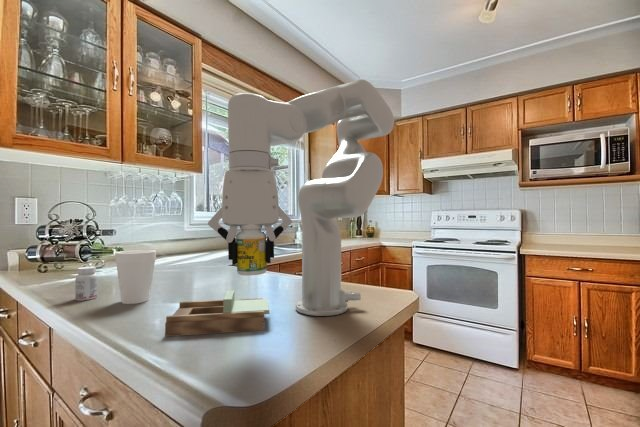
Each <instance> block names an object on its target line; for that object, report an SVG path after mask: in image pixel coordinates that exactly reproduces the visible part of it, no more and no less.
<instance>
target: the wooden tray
mask: <svg viewBox="0 0 640 427" xmlns="http://www.w3.org/2000/svg"><path fill="white" fill-rule="evenodd" d="M256 299H264V298H263V297H260V298H257V297H256V298H254V297H253V298H237V299H236V298H234V300H256ZM164 324H165V325H164V326H165V329H164V332H165V334H164V337H177V335H178V336H191V334H195V335H207V334H221V333H222V334H224V333H237V332H239V333H241V332H250V331H251V332H252V331H264V330H265V314H264V311H249V312H231V313H223V299H213V300H212V299H211V300H194V301H193V300H191V301H180V302H179V307H178V308H177V310H176V311H175V312H174V313H173V314H172V315H166V317H165V323H164Z"/></svg>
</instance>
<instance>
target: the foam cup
mask: <svg viewBox="0 0 640 427" xmlns="http://www.w3.org/2000/svg"><path fill="white" fill-rule="evenodd" d="M114 256H115V258H114V259H115V260H114V261H115V264H116V271H117V277H118V278H117V279H118V286H119V293H120V300H121V303H122V304H125V305H126V304H127V305H134V304H141V303H145V302H147V301H150V300H149V299H150V298H151V297H150V296H151V295H150V294H151V290H152V284H153V277H154V270H155V266H156V265H155V263H156V261H157V250H154V249H153V250H152V249H141V250H140V249H136V250H134V249H133V250H123V251H116V252H115V255H114Z"/></svg>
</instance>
